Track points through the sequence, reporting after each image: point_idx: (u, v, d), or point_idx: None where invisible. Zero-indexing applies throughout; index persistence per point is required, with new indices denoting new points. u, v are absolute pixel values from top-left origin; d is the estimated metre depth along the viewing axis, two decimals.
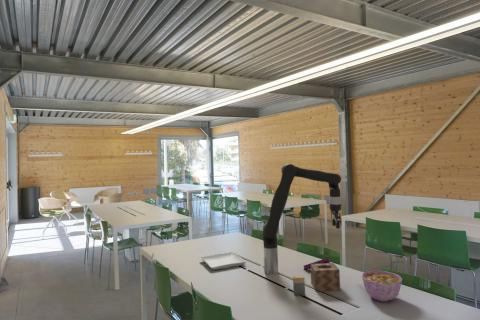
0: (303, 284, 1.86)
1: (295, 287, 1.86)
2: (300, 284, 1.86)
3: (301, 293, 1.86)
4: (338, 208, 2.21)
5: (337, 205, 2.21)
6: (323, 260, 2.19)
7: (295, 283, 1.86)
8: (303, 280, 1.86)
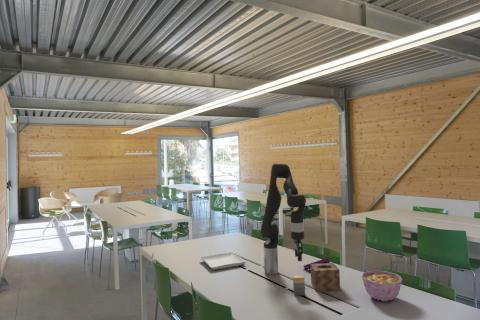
0: (303, 284, 1.86)
1: (295, 287, 1.86)
2: (300, 284, 1.86)
3: (301, 293, 1.86)
4: (300, 236, 1.84)
5: (299, 233, 1.84)
6: (323, 260, 2.19)
7: (295, 283, 1.86)
8: (303, 280, 1.86)
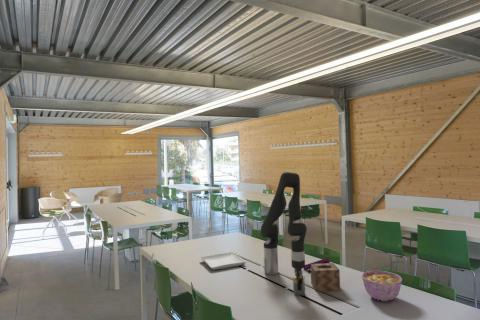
0: (303, 284, 1.86)
1: (295, 287, 1.86)
2: None
3: (301, 293, 1.86)
4: (301, 266, 1.84)
5: (299, 262, 1.84)
6: (323, 260, 2.19)
7: (295, 283, 1.86)
8: (303, 280, 1.86)
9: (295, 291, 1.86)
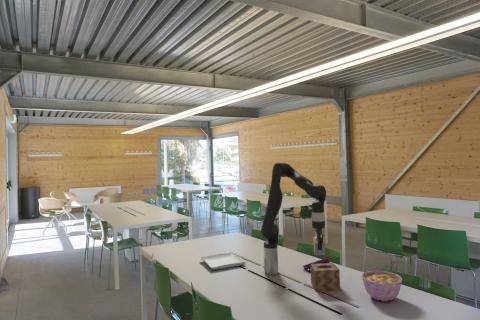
0: (323, 244, 1.93)
1: (316, 247, 1.93)
2: None
3: (321, 253, 1.93)
4: (321, 226, 1.91)
5: (320, 222, 1.91)
6: (323, 260, 2.19)
7: (316, 243, 1.93)
8: (323, 240, 1.93)
9: (316, 251, 1.93)
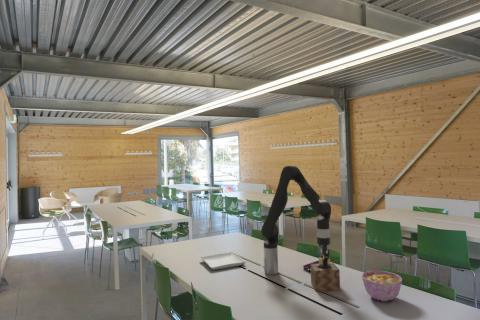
0: (328, 265, 1.95)
1: None
2: None
3: None
4: (326, 242, 1.93)
5: (325, 239, 1.93)
6: None
7: (321, 264, 1.95)
8: (328, 261, 1.95)
9: None
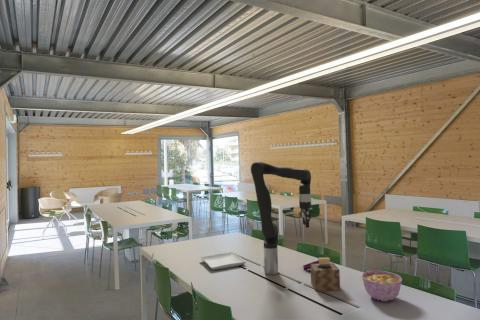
0: (328, 265, 1.95)
1: None
2: (326, 265, 1.96)
3: None
4: (307, 206, 2.09)
5: (306, 203, 2.09)
6: None
7: (321, 264, 1.96)
8: (328, 261, 1.95)
9: None
